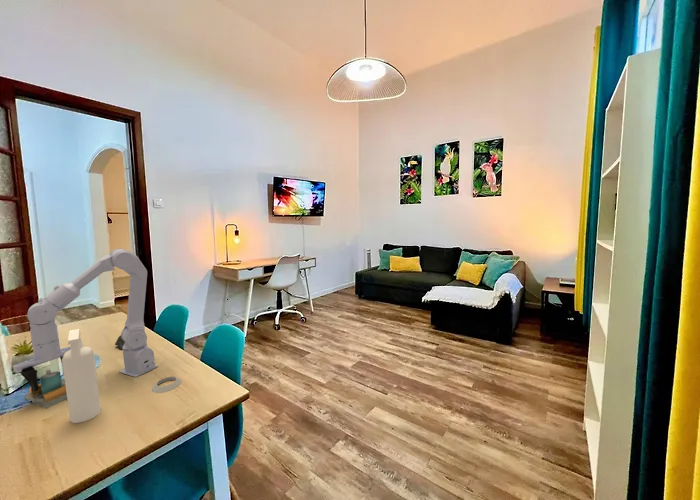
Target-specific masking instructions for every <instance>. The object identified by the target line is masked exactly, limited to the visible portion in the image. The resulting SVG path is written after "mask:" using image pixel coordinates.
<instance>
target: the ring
mask: <svg viewBox="0 0 700 500" xmlns="http://www.w3.org/2000/svg"><path fill="white" fill-rule="evenodd" d="M170 381H174V382H172V383H170V384H167V385H162V386H161V385H160V384H163V383H165V382H170ZM182 382H183V381H182V379H180V378H179V377H176V376H167V377H163V378H161V379H159V380H157V382H156V383H155V384H153V386H152V387H151V392H152V393H155V394H162V393H163V394H164V393H167V392H170V391H172V390H174V389H176V388H178V387H179V386H180V385H182ZM159 385H160V386H159Z"/></svg>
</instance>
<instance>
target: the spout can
mask: <svg viewBox="0 0 700 500" xmlns="http://www.w3.org/2000/svg"><path fill="white" fill-rule="evenodd" d="M61 380H62V375H61V371H51V369H47V370H45V374H43V375H41V376H40V377H39V381H40V384H41V389H42V394H43V395H44V394H45V393H47V392H50V391H52V390H55V389H57V388H59V387H62V381H61Z"/></svg>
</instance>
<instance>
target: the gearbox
mask: <svg viewBox="0 0 700 500" xmlns="http://www.w3.org/2000/svg"><path fill="white" fill-rule="evenodd" d="M61 381H62V387H59V388H57V389H55V390H52V391H50V392H47V393H45V394H44V395H43V394H42V389H41V383H38V387H39V390H37V391H34V390H32V388H31V387H29V388H28V389H29V392H28V393H26V394H24V397H25V400H26V399H28V400H30V401H29V402H31V401H32V402H31V403H33V402H34V403H33V404H35V403H36V404H35V405H38V406H39V407H42V408H44V409H48V408H49V407H52V406H54V405H57V404H59V403H61V402H63V401H65V400H67V393H66V386H65V379H64V378H63V379H62V378H61ZM28 400H27V401H28Z"/></svg>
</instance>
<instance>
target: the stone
mask: <svg viewBox="0 0 700 500" xmlns="http://www.w3.org/2000/svg"><path fill="white" fill-rule="evenodd" d="M124 343H125V342H124V340H123V339H122V338H121V335H119V336H118V337H117V339H116V341H115V343H114V346H117V347H118V348H119V349H120V350H122V351H123V349H122V347H123V345H124Z"/></svg>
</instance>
